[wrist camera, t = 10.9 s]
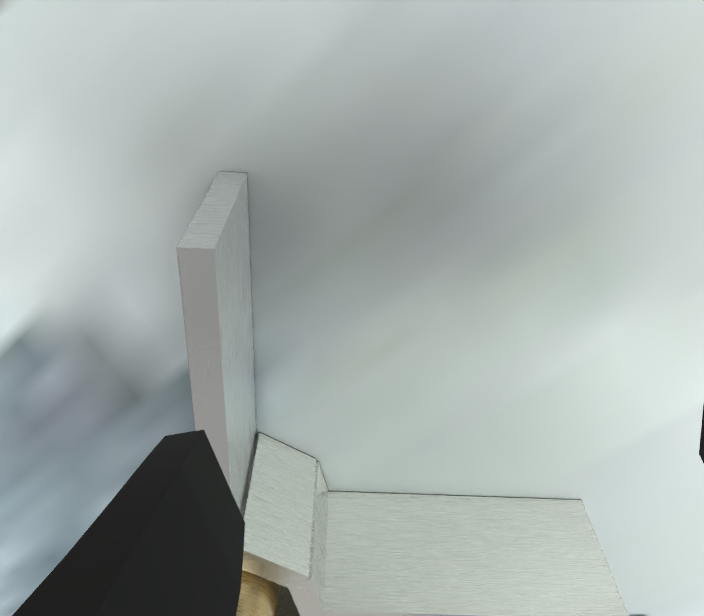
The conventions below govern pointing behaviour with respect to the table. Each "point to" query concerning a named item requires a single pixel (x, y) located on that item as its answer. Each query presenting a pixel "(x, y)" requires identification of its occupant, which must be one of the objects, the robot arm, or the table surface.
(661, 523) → the table surface
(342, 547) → the steel hinge
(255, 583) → the hinge pin
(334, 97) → the table surface
